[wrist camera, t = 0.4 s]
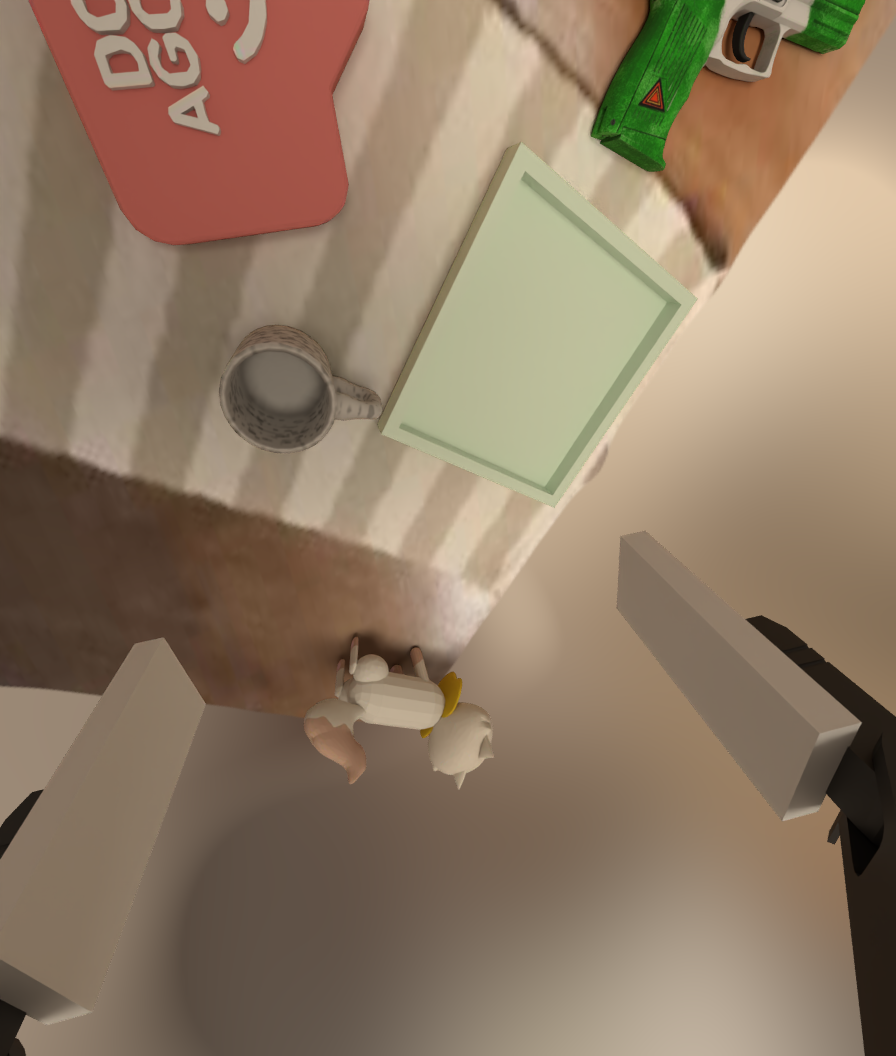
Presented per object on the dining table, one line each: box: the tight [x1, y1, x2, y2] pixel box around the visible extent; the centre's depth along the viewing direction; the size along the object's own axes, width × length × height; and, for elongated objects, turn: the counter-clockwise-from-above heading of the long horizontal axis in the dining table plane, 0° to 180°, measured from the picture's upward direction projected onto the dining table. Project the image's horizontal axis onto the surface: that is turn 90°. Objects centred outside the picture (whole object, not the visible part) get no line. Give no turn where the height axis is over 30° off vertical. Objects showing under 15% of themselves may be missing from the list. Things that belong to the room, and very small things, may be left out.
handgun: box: [591, 0, 865, 172], centre depth 29 cm, size 3×16×12 cm
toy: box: [304, 637, 494, 789], centre depth 44 cm, size 9×19×15 cm, turn 58°
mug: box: [219, 325, 383, 453], centre depth 30 cm, size 10×7×7 cm, turn 74°
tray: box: [377, 142, 697, 508], centre depth 36 cm, size 20×18×2 cm
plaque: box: [29, 0, 369, 245], centre depth 22 cm, size 18×4×15 cm
